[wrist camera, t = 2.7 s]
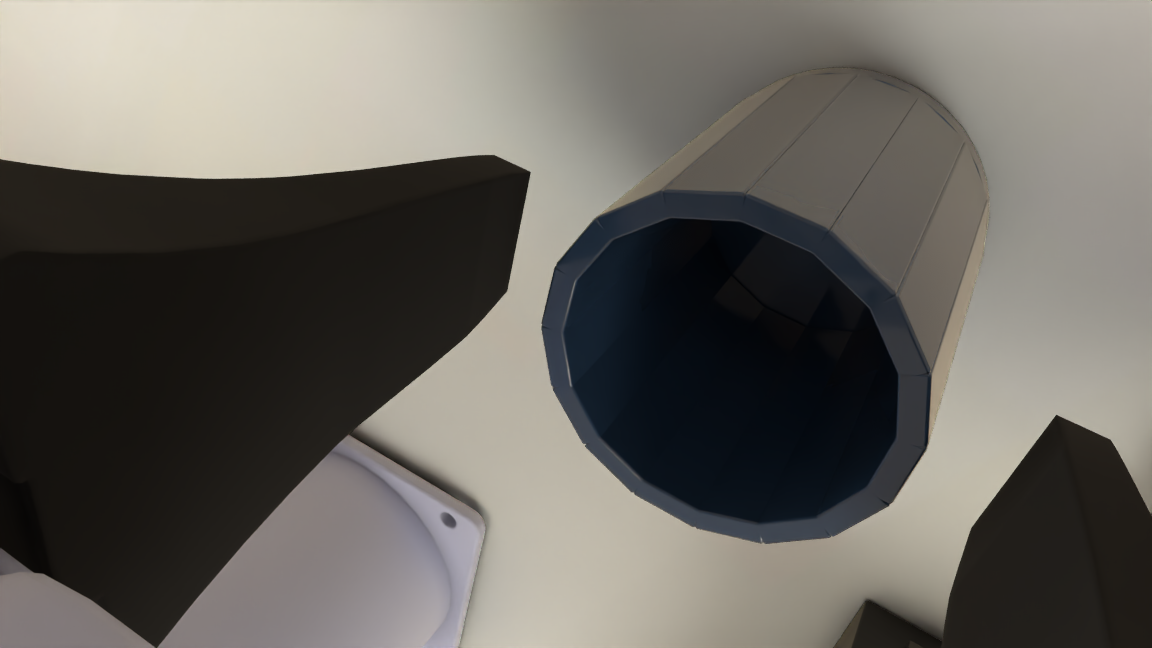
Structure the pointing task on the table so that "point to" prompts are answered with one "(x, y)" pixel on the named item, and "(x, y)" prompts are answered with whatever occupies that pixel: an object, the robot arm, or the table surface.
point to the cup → (776, 308)
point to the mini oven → (883, 631)
